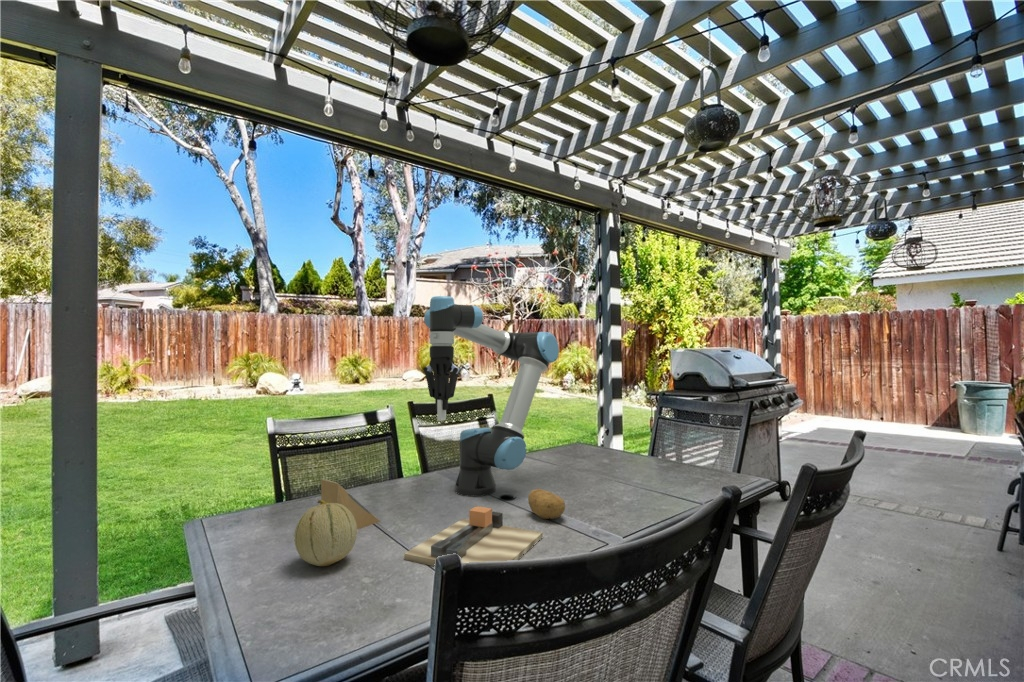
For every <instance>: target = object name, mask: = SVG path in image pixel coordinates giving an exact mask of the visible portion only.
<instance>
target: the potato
mask: <svg viewBox="0 0 1024 682" xmlns="http://www.w3.org/2000/svg"><path fill="white" fill-rule="evenodd" d="M528 505H529V507H530V510H531V512H532V513H534V514H535V515H536V516H537V517H539V518H540V519H545V520H546V519H549V518H550V519H552V520H555V519H557V518H559V517H561V516H562V514H563V513H564V512H565V509H566V504H565V501H564V499H563V498H562V497H561V496H558V495H557V494H555V493H554V492H550V491H548V490H545V489H540V488H536V489H533V490H531V491H530V492H529V495H528Z"/></svg>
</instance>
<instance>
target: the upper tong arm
mask: <svg viewBox="0 0 1024 682" xmlns="http://www.w3.org/2000/svg"><path fill="white" fill-rule="evenodd" d="M491 531H493V522H492V523H491V524H490V525H488V526H487V527H485V528H484V527H478V528H477V529H476V530H474V531H473V532H471V533H470V534H468V535H467V536H466V537H464V538H463V539H461V540H460V541H458V542H457V543H455V544H453V545H452V546H450V547H449V548H447V549H446V555H447V554H453V553H456V554H458V555H459V556H460V557H461V558H462V557H463V556H465V555H466V550H467V549H469V548H470V547H471V546H473V545H474V544H475V543H477V542H478V541H479V540H481V539H482V538H483V537H485V536H486V535H487V534H489V533H490V532H491Z"/></svg>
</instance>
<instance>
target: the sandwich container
mask: <svg viewBox="0 0 1024 682" xmlns="http://www.w3.org/2000/svg"><path fill="white" fill-rule="evenodd" d="M320 484H321V485H320V490H321V494H320V497H321V499H320V500H323V501H325V502H326V503H338V504H341V505H344V506H345V507H346V508H347V509H348V510H350V512H352V514H353V516H354V518H355V520H356V524H357V531H358V530H361V529H363V528H365V527H369V526H371V525H375V524H377V523H380V522H381V519H379V518H377V516H375V515H374V514H373V513H372V512H370V510H368V508H366V507H365V506H364V505H363V504H362V503H360V502H359V501H358V500H357V499H356V498H355V497H354V496H352V495H351V493H349V491H348V490H346V489H345V488H344V487H343V486H342V485H341V484H340V483H338V482H335V481H332V480H329V479H324V478H322V479H321V480H320Z"/></svg>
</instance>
